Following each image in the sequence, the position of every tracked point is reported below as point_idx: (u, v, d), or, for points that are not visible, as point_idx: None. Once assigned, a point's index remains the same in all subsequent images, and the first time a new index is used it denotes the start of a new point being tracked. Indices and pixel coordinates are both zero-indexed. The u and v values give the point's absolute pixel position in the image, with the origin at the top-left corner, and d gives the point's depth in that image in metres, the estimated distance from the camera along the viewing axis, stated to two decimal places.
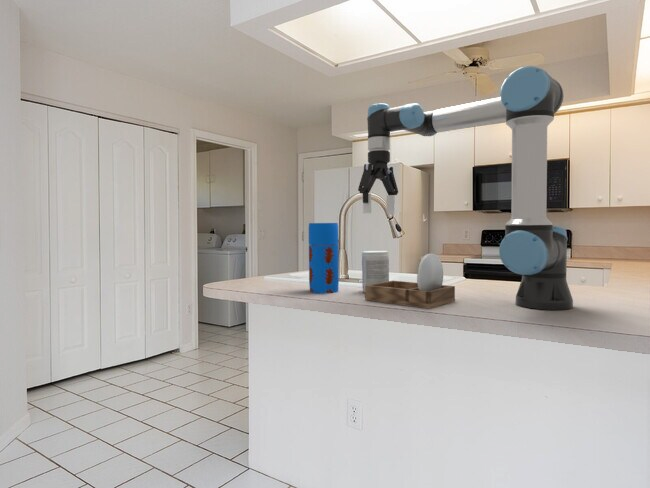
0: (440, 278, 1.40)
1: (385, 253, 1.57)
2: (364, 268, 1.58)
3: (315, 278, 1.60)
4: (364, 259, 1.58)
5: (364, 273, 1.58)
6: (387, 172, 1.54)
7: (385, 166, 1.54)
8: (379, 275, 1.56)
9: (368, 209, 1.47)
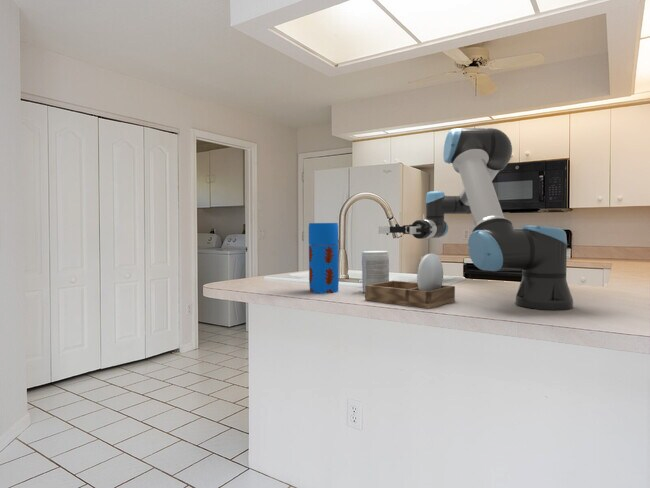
0: (440, 278, 1.40)
1: (385, 253, 1.57)
2: (364, 268, 1.58)
3: (315, 278, 1.60)
4: (364, 259, 1.58)
5: (364, 273, 1.58)
6: None
7: None
8: (379, 275, 1.56)
9: None
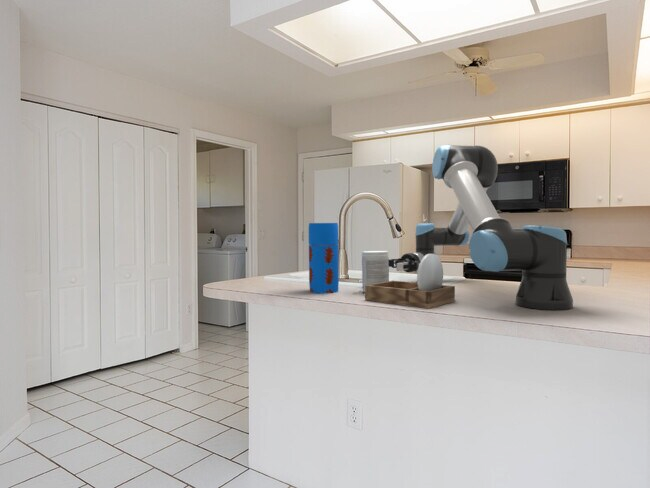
0: (440, 278, 1.40)
1: (385, 253, 1.57)
2: (364, 268, 1.58)
3: (315, 278, 1.60)
4: (364, 259, 1.58)
5: (364, 273, 1.58)
6: (408, 259, 1.73)
7: (410, 260, 1.75)
8: (379, 275, 1.56)
9: None
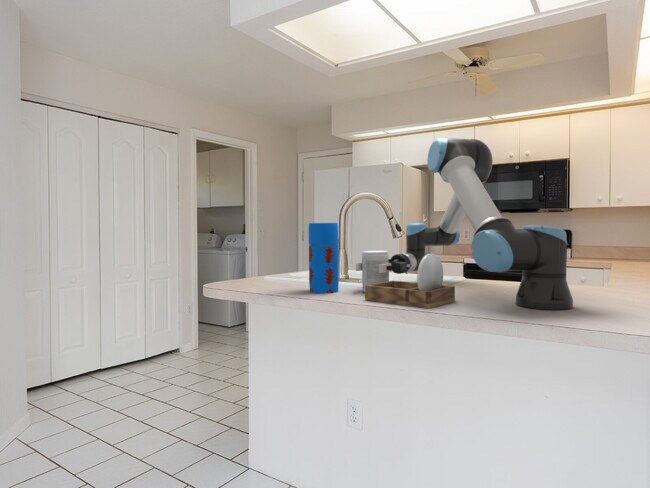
0: (440, 278, 1.40)
1: (385, 253, 1.57)
2: (364, 268, 1.58)
3: (315, 278, 1.60)
4: (364, 259, 1.58)
5: (364, 273, 1.58)
6: (397, 260, 1.67)
7: (401, 261, 1.69)
8: (379, 275, 1.56)
9: None
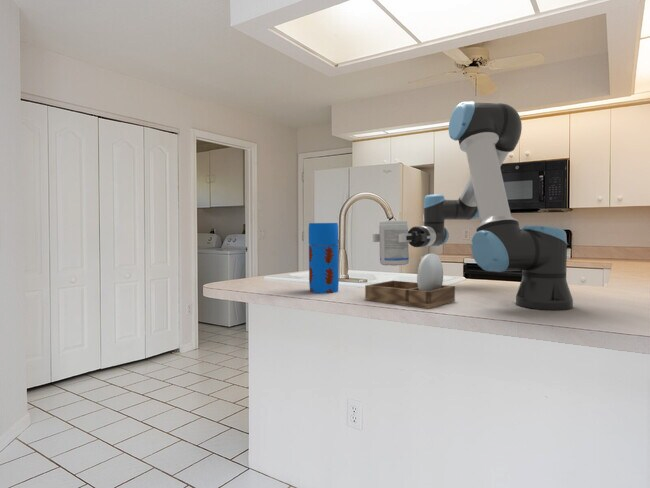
0: (440, 278, 1.40)
1: (405, 222, 1.46)
2: (382, 238, 1.47)
3: (315, 278, 1.60)
4: (382, 229, 1.47)
5: (382, 244, 1.47)
6: None
7: (420, 233, 1.57)
8: (398, 246, 1.45)
9: None
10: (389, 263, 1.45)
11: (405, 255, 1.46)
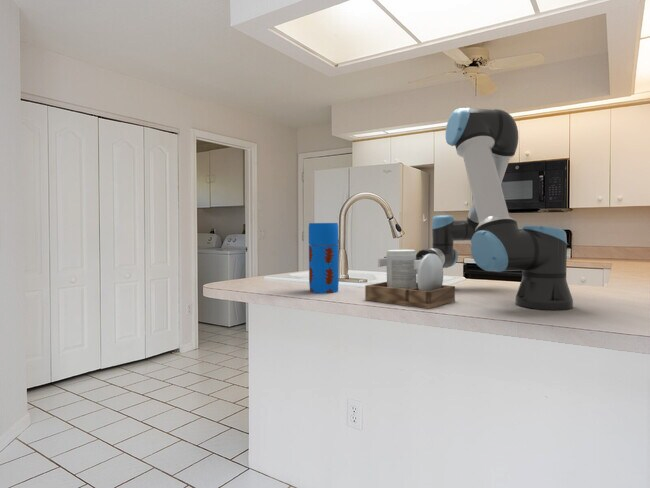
0: (440, 278, 1.40)
1: (413, 252, 1.42)
2: (389, 269, 1.43)
3: (315, 278, 1.60)
4: (389, 259, 1.43)
5: (389, 274, 1.43)
6: None
7: None
8: (406, 277, 1.41)
9: None
10: None
11: (413, 286, 1.42)
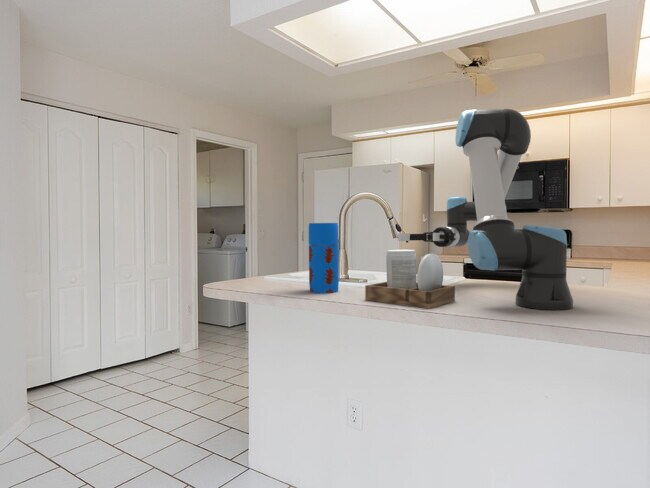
0: (440, 278, 1.40)
1: (413, 252, 1.42)
2: (389, 269, 1.43)
3: (315, 278, 1.60)
4: (389, 259, 1.43)
5: (389, 274, 1.43)
6: None
7: None
8: (406, 277, 1.41)
9: None
10: None
11: (413, 286, 1.42)
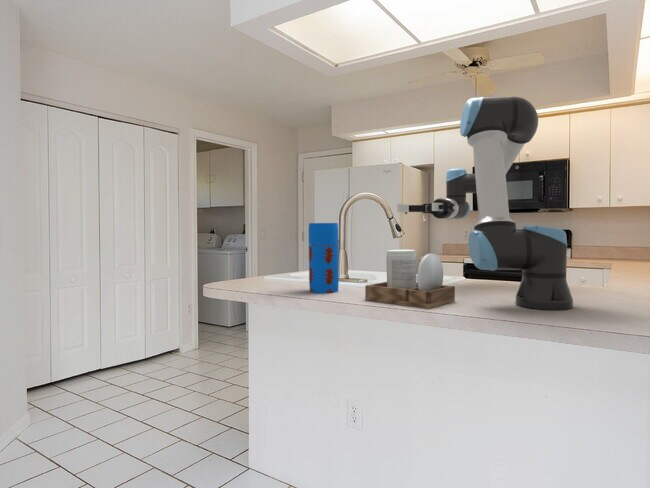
0: (440, 278, 1.40)
1: (413, 252, 1.42)
2: (389, 269, 1.43)
3: (315, 278, 1.60)
4: (389, 259, 1.43)
5: (389, 274, 1.43)
6: None
7: None
8: (406, 277, 1.41)
9: None
10: None
11: (413, 286, 1.42)
